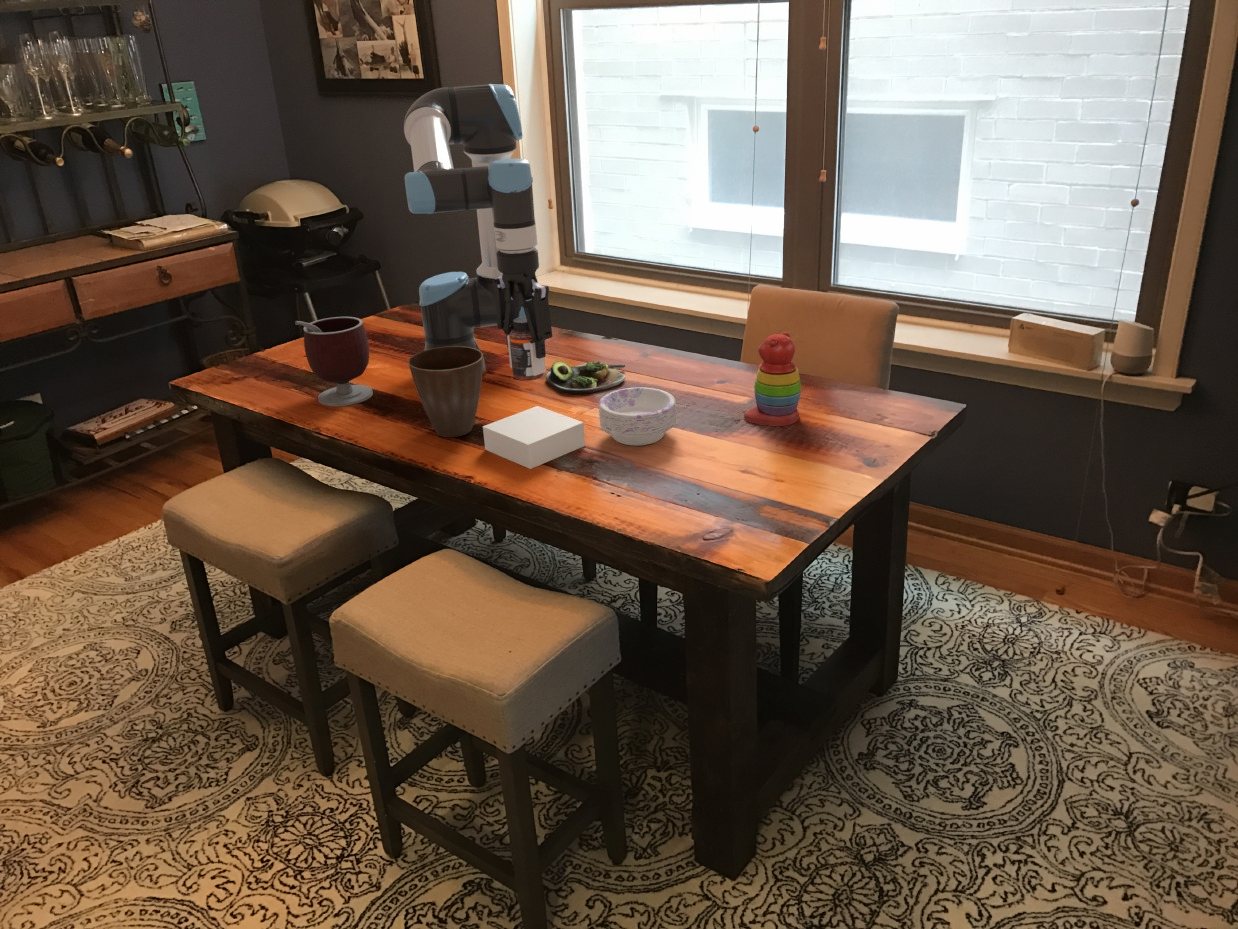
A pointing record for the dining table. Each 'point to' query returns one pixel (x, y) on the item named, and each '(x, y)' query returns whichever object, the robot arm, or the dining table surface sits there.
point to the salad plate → (583, 377)
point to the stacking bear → (776, 384)
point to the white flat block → (534, 436)
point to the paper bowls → (637, 415)
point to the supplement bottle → (521, 350)
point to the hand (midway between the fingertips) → (527, 369)
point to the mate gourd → (338, 357)
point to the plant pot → (448, 387)
